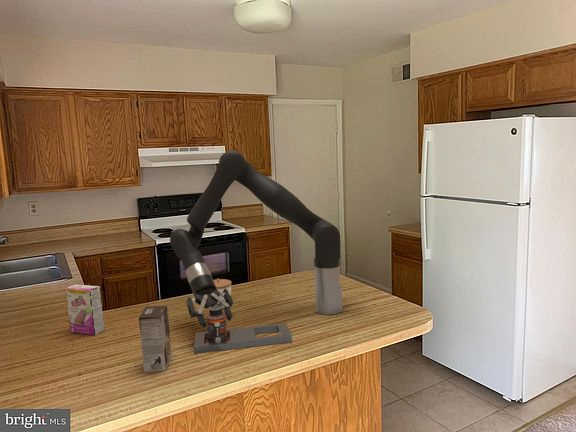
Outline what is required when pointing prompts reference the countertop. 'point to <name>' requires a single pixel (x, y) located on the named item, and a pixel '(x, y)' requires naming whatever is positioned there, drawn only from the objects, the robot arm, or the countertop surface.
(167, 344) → the coffee box
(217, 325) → the supplement bottle
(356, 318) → the countertop surface
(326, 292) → the robot arm
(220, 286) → the lidded jar
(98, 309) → the candy bar box
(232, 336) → the plate with square holes
